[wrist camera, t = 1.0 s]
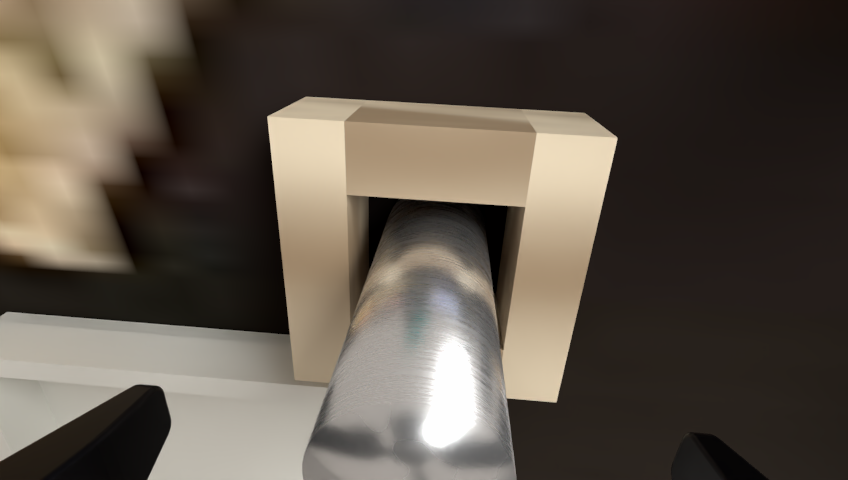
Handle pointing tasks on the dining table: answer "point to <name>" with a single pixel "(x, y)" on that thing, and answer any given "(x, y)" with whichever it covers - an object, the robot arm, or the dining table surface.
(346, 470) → the pin
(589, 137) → the square wooden frame
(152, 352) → the tray
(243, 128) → the dining table surface
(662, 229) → the dining table surface
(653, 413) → the dining table surface
